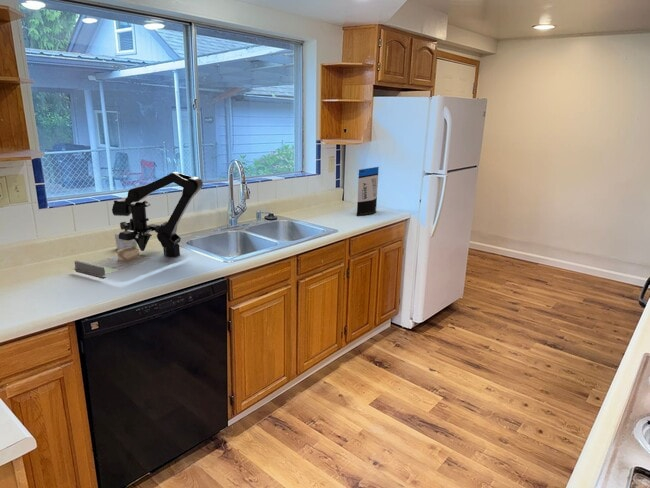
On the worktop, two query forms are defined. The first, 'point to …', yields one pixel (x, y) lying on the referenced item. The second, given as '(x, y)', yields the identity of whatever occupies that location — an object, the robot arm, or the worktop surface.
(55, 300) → the worktop surface
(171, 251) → the robot arm
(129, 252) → the maple block
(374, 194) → the protein powder
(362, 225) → the worktop surface
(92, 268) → the trap runway
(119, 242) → the medicine box
